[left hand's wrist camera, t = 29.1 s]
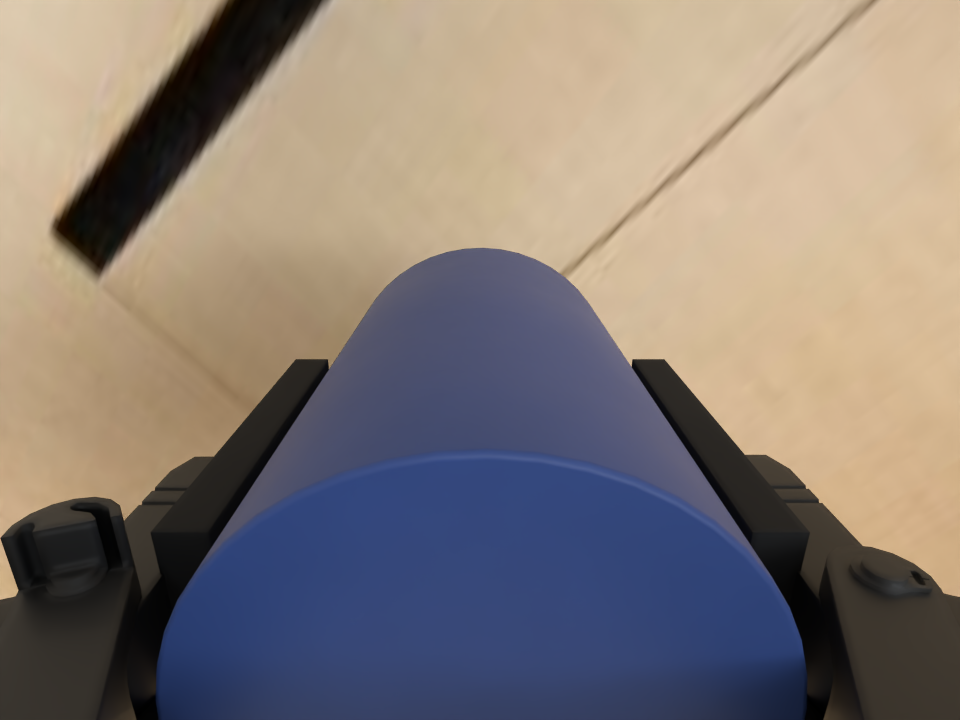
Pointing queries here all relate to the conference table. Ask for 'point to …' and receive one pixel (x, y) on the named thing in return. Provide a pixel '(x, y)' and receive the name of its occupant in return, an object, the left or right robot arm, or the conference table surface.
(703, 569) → the canister
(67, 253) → the conference table surface
